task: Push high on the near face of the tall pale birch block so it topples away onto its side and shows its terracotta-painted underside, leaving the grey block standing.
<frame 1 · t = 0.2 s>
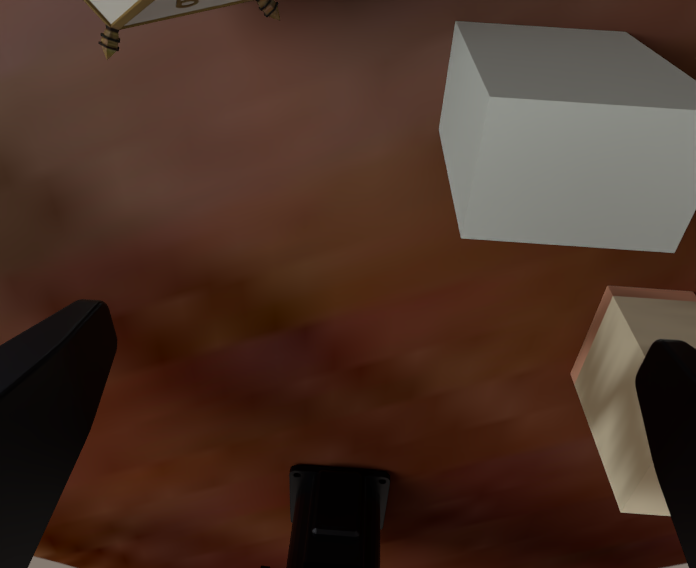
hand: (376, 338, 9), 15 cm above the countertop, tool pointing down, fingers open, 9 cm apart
birch block: (627, 335, 28), on the countertop
grey block: (526, 83, 21), on the countertop
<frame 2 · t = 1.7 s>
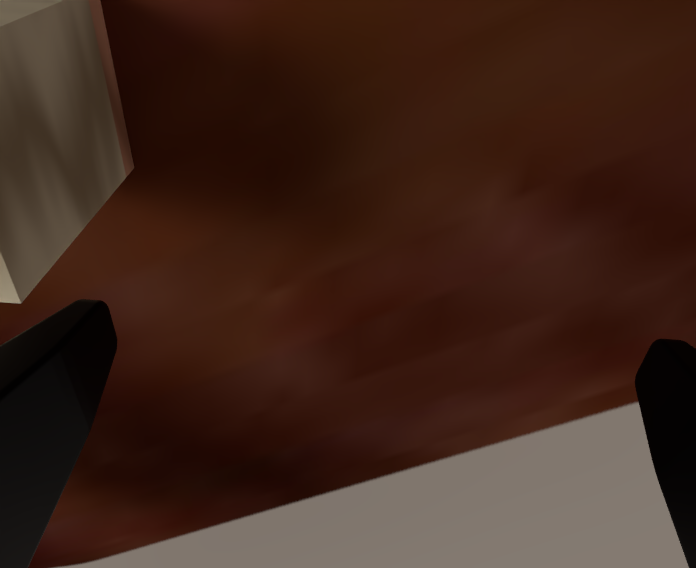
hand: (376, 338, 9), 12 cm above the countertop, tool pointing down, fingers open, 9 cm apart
birch block: (59, 81, 19), on the countertop
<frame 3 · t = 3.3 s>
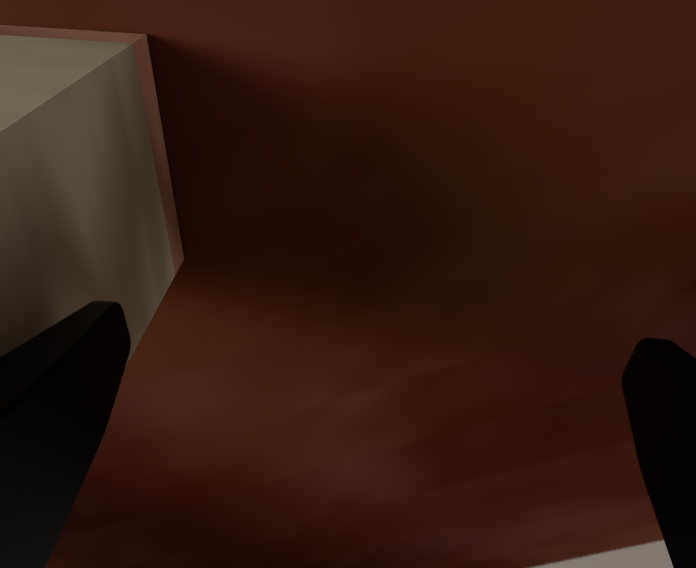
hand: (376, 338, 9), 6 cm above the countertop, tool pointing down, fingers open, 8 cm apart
birch block: (89, 155, 14), on the countertop, touching gripper
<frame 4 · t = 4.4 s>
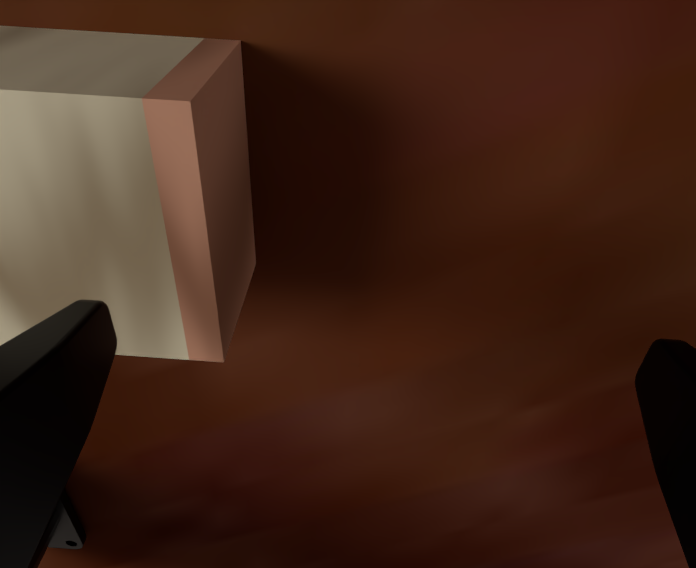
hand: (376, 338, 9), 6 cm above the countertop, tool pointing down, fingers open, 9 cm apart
birch block: (232, 203, 12), point 2 cm above the countertop, tilted 90°
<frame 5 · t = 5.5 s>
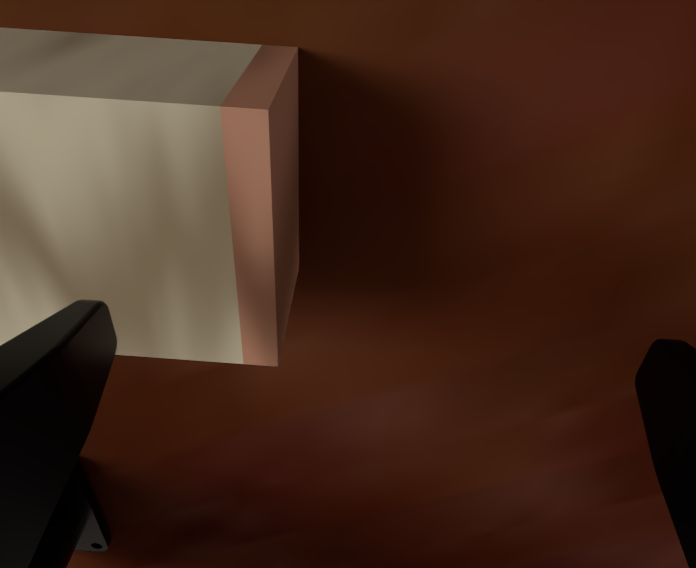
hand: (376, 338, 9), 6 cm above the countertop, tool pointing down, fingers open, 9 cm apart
birch block: (288, 209, 13), point 2 cm above the countertop, tilted 90°
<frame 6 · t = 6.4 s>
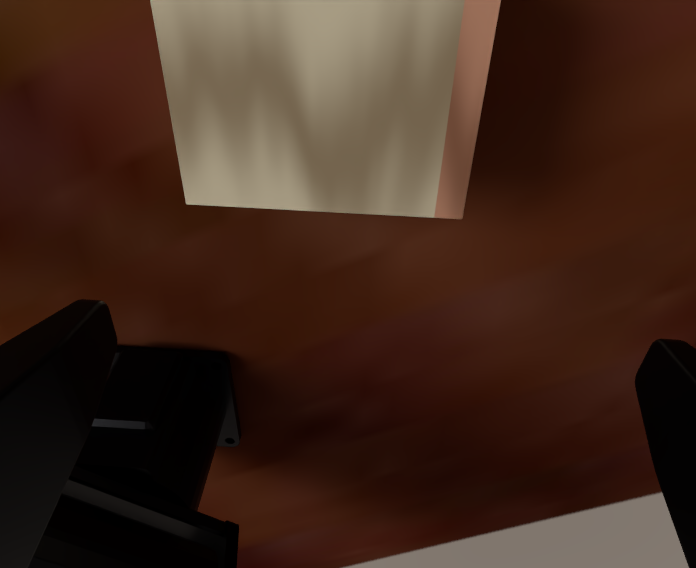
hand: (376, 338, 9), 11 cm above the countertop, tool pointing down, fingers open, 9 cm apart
birch block: (471, 90, 16), point 2 cm above the countertop, tilted 90°
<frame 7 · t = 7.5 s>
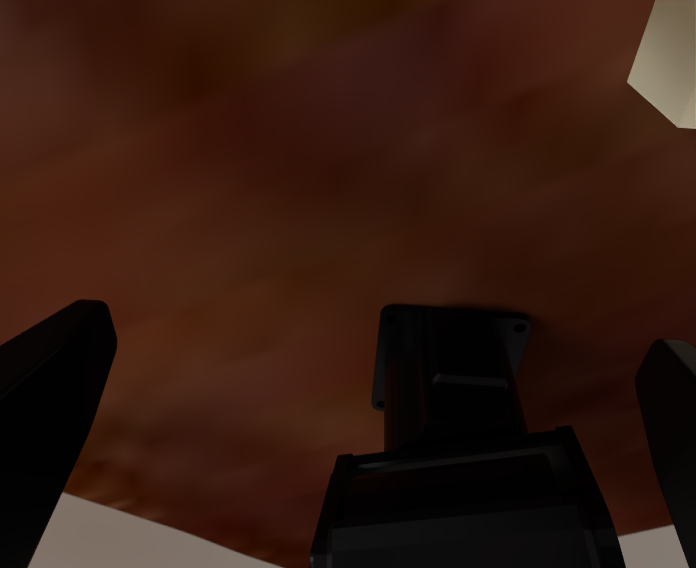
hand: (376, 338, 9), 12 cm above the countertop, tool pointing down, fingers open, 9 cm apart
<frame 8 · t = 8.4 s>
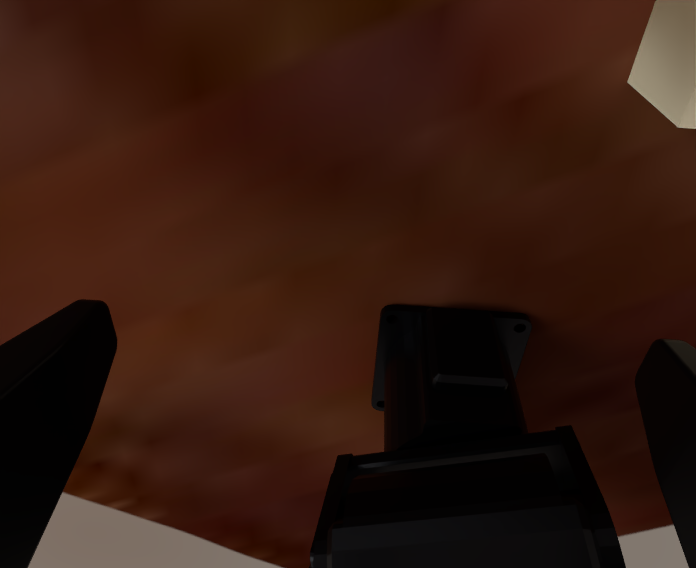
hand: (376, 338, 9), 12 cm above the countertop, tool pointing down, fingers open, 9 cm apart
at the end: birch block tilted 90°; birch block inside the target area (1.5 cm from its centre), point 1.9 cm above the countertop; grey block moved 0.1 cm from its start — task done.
